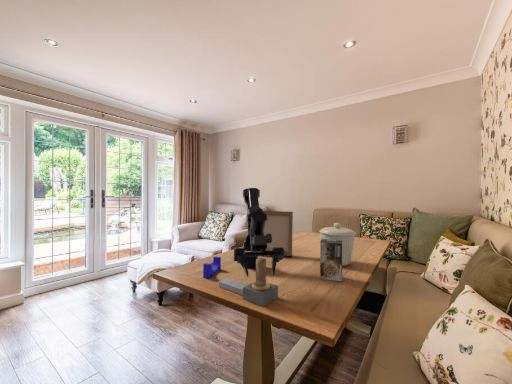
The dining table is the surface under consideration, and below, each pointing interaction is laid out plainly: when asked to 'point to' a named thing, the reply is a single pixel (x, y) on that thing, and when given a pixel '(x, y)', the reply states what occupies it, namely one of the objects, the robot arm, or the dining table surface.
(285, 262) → the dining table surface
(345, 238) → the canister
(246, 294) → the hitch block
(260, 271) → the walnut pin
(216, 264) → the blue arched block
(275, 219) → the photo frame
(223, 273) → the dining table surface
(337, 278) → the coffee box
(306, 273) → the dining table surface
